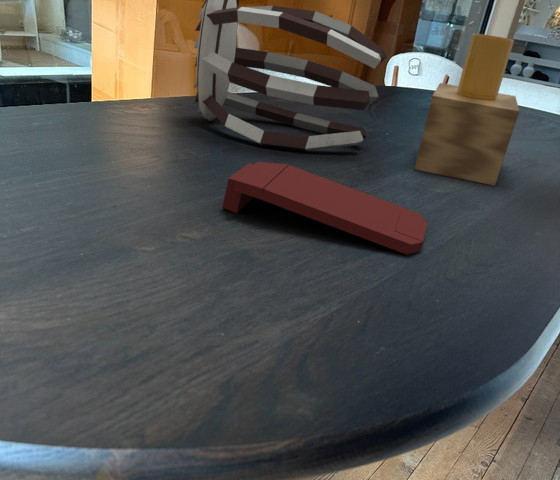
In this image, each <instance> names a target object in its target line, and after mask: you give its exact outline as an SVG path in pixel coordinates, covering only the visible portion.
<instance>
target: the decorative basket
mask: <svg viewBox="0 0 560 480" xmlns="http://www.w3.org/2000/svg"><path fill="white" fill-rule="evenodd" d="M197 18H198V19H200V21H199V23H198V25H197V26H196V27H195V29H194V31H195V32H199V34H198V37H197V39H196V42H195V44H194V46H193V49H197V50H196V51H197V53H196V59H195V64H194V68H196V77H195V81H194V87H193V89H194V88H196V93H195V94H196V95H195V100H194V103H198V109H197V116H199V115H202V117H203V118H204V119H206V120H207V121H209V122H211V121H213V120H215V118H217V119H218V121H219V122H220V123H221V124H222V125H223V126H224V127H225V128H226V129H228V130H229V131H231V132H233V133H236V134H238V135H240V136H242V137H244V138H246V139H248V140H250V141H253V142H255V143H257V144H258V145H260V146H262V147H263V146H264V147H270V148H271V147H272V148H280V149H286V150H287V149H288V150H295V151H303V152H309V151H310V152H311V151H318V150H328V149H335V148H336V149H337V148H345V147H353V146H359V144H361V143H362V142H363V141H364V140H365V139H366V138H367V137H368V135H367V133H366V130H365V127H360V126H355V125H350V124H345V123H341V122H336V121H332V120H331V121H330V120H326V119H322V118H319V117H315V116H311V115H306V114H303V113H300V112H295V111H292V110H289V109H285V108H283V107H282V108H281V107H278V106H275V105H271V104H268V103H265V102H261V101H258V100H255V99H252V98H249V97H246V96H243V95H241V94H240V95H239V94H237V93H234V92H231V91H229V88H230V84H234V85H237V86H239V87H241V88H245V89H247V90H250V91H253V92H256V93H259V94H262V95H264V96H266V97H271V98H272V97H273V98H277V99H283V100H287V101H292V102H296V103H301V104H305V105H306V104H307V105H311V106H319V107H327V108H328V107H329V108H339V109H348V110H358V111H365V110H366V109H367V107H368V105H372V104H373V103H374V102H375V101H376V100H377V99H378V98H379V94H378V91H377V87H376V86H375V85H374V84H372V83H369V82H367V81H365V80H362V79H360V78H358V77H356V76H353V75H352V74H350V73H348V72H344V71H343V70H339V69H336V68H333V67H330V66H327V65H323V64H321V63H317V62H314V61H311V60H307V59H302V58H298V57H294V56H289V55H284V54H279V53H275V52H270V51H264V50H257V49H249V48H243V47H237V37H238V23H240V24H241V23H242V24H247V25H248V24H249V25H254V26H262V27H268V28H276V29H280V30H282V31H285V32H288V33H291V34H294V35H297V36H300V37H302V38H306V39H309V40H312V41H314V42H318V43H320V44H323V45H325V46H328V47H331V48H332V49H334V50H335V51H338V52H340V53H342V54H344V55H346V56H348V57H350V58H352V59H354V60H356V61H358V62H360V63H362V64H364V65H366V66H368V67H370V68H373V69H374V70H375V69H376V68H377V66H378V65H379V64H380V63H383V61H385V59H387V58H388V55H387V54H386V51H385V50H384V48H382V47H381V46H380V45H378V44H377V43H376V42H375V41H373V39H370V38H369V37H368V36H367V35H365V34H364V33H362V32H361V31H359V30H358V29H357V28H356V27H354V26H353V25H352V24H349V23H347V22H344V21H341V20H339V19H336V18H335V17H331V16H329V15H326V14H325V13H321V12H318V11H316V10H310V9H301V8H294V7H285V6H278V5H261V6H260V5H259V6H238V3H237V0H205V1H204V2H203V4H202V6H201V11H200V12H199V14H198V15H197ZM256 69H258V70H256ZM260 70H266V71H271V72H275V73H280V74H286V75H290V76H294V77H299V78H304V79H307V80H309V81H313V82H316V83H320V84H314V83H310V82H305V81H300V80H296V79H292V78H287V77H286V78H285V77H281V76H276V75H271V74H268V73H265V72H262V71H260ZM321 84H323V85H321ZM223 106H226V107H230V108H233V109H236V110H239V111H243V112H246V113H249V114H252V115H254V116H259V117H262V118H266V119H269V120H272V121H276V122H279V123H283V124H285V125H288V126H289V125H290V126H293V127H296V128H300V129H304V130H308V131H312V132H315V133H319V134H316V135H301V134H295V133H285V132H278V131H270V130H263V129H262V128H260V127H258V126H255V125H253V124H251V123H249V122H247V121H245V120H242V119H241V118H238V117H236V116H234V115H232V114H230V113H228V111H227V110H226V109H225V108H224V107H223Z"/></svg>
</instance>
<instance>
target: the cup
mask: <svg viewBox="0 0 560 480" xmlns="http://www.w3.org/2000/svg"><path fill="white" fill-rule="evenodd" d="M514 42H515V40H514V39H513V38H512V39H511V38H507V37H501V36H496V35H489V34H484V33H471V38H470V41H469V45H468V49H467V52H466V56H465V59H464V64H463V68H462V70H461V75H460V79H459V82H458V85H457V86H458V90H457V93H458V94H460V95H463V96H467V97H471V98H476V99H483V100H496V98H497V95H498V93H499V91H500V88H501V86H502V82H503V80H504V75H505V73H506V68H507V65H508V63H509V59H510V56H511V53H512V49H513V45H514Z"/></svg>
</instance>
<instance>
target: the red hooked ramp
mask: <svg viewBox="0 0 560 480" xmlns="http://www.w3.org/2000/svg"><path fill="white" fill-rule="evenodd" d="M254 198H255V199H259V200H261V201H262V202H263V201H264V202H266V203H269V204H272V205H274V206H276V207H280V208H282V209H284V210H287V211H290V212H293V213H295V214H298V215H301V216H303V217H306V218H309V219H311V220H314V221H317V222H320V223H322V224H324V225H326V226H327V225H328V226H330V227H332V228H335V229H337V230H341V231H342V232H346V233H348V234H351V235H353V236H356V237H359V238H362V239H364V240H367V241H370V242H372V243H375V244H377V245H379V246H383V247H385V248H387V249H391V250H394V251H396V252H398V253H401V254H404V255H411V254H415V253H419V252H420V251H421V248H422V246H423V244H424V241H425V236H426V232H427V231H426V230H427V226H428V221H427V220H426V219H425V218H424V217H423V216H422V215H421V214H420V213H419V212H417V211H414V210H412V209H408V208H407V207H404V206H400V205H398V204H396V203H392V202H390V201H387V200H384V199H381V198H379V197H377V196H373V195H371V194H368V193H366V192H363V191H360V190H357V189H355V188H352V187H349V186H347V185H344V184H342V183H338V182H336V181H333V180H330V179H328V178H325V177H323V176H320V175H317V174H315V173H311V172H309V171H306V170H304V169H302V168H298V167H296V166H293V165H290V164H286V163H285V164H284V163H275V162H274V163H273V162H262V161H257V162H255V163H251V162H248V163H247V164H245V165H244V166H243V167H241V168H240V169H238V170H237V171H236V172H235V173H233V174H232V175H231V176H229V177H228V180H227V184H226V188H225V193H224V198H223V201H222V207H221V208H222V209H225V210H228V211H230V212H232V213H235V214H237V213H239V212H240V211H241V210H242V209H243V208H244V207H245V206H246V205H247V204H248V203H249V202H250V201H252V200H253V199H254Z"/></svg>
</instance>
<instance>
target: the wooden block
mask: <svg viewBox="0 0 560 480" xmlns="http://www.w3.org/2000/svg"><path fill="white" fill-rule="evenodd" d="M458 86H459V85H453V84H450V83H443V82H439V84H438V86H437V87H436V89H435V90H434V92H433V94H432V96H431V99H430V104H429V107H428V112H427V117H426V120H425V124H424V128H423V131H422V137H421V140H420V145H419V148H418V152H417V157H416V161H415V165H414V170H415V171H419V172H424V173H429V174H433V175H434V174H435V175H440V176H444V177H449V178H454V179H460V180H464V181H468V182H469V181H470V182H473V183H474V182H475V183H480V184H484V185H489V186H493V187H495V186H496V184H497V181H498V178H499V175H500V172H501V169H502V166H503V163H504V160H505V157H506V153H507V151H508V148H509V144H510V142H511V138H512V135H513V132H514V129H515V126H516V124H517V120H518V117H519V114H520V109H519V105H518V101H517V96H516V95H511V94H506V93H499V92H498V95H497V98H496V100H483V99H476V98H471V97H467V96H463V95H460V94H458V93H457V90H458Z"/></svg>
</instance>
